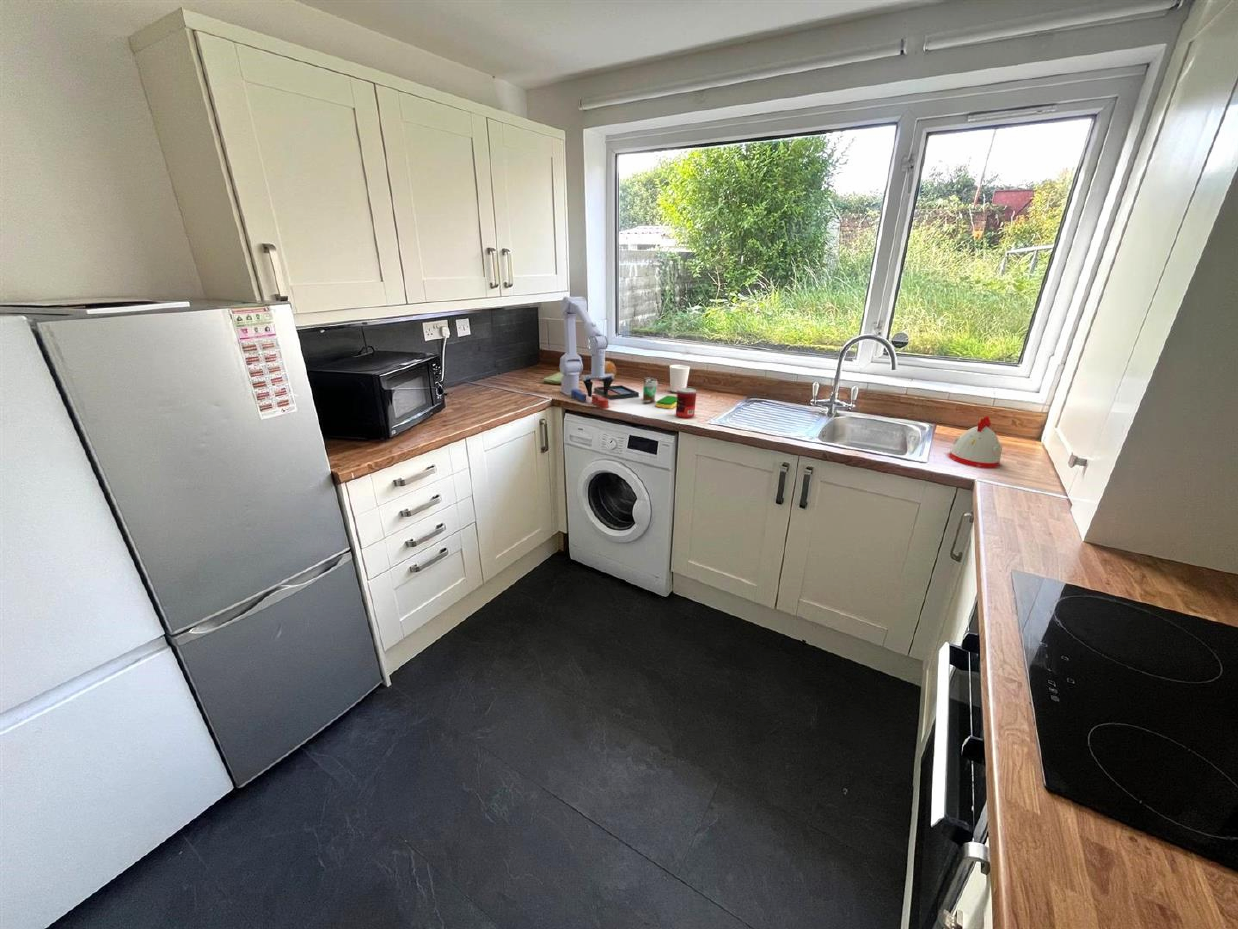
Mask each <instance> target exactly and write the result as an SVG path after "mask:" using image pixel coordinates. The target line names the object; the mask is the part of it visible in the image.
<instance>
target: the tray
mask: <svg viewBox="0 0 1238 929" xmlns="http://www.w3.org/2000/svg"><path fill="white" fill-rule="evenodd" d="M593 392H594V393H596V394H598V395H600V396H601V397H603V398H606V399H608V400H610V401H612V400H613V401H614V400H622V399H623V400H624V399H634V398H639V397H640V393H639V391H636V390H634V389H632V388H630V387H627V386H626V385H625V386H624V385H622V384H619V385H610V387H609V390H608V393H607V395H604V386H595V387H593Z"/></svg>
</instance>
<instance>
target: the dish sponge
mask: <svg viewBox="0 0 1238 929" xmlns="http://www.w3.org/2000/svg"><path fill="white" fill-rule="evenodd" d="M676 404H677V396H676V395H666V396H664V397H662V398H659V400H657V401H656V403H655V407H656V408H663V409H669V410H672V409H673V408H676Z"/></svg>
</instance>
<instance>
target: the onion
mask: <svg viewBox="0 0 1238 929" xmlns="http://www.w3.org/2000/svg"><path fill="white" fill-rule="evenodd" d="M611 373H612V374H614V378H615V377H616V375H617V366H616V365H615V364H614V362H613V361H610V360H605V374H611Z"/></svg>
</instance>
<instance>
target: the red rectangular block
mask: <svg viewBox="0 0 1238 929" xmlns="http://www.w3.org/2000/svg"><path fill="white" fill-rule="evenodd" d="M591 403H593V405H596V406H597V408H598V409H609V399H608V398H606V397H603V396H601V395H600V396H599V394H598V395H597V394H592V396H591Z"/></svg>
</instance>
